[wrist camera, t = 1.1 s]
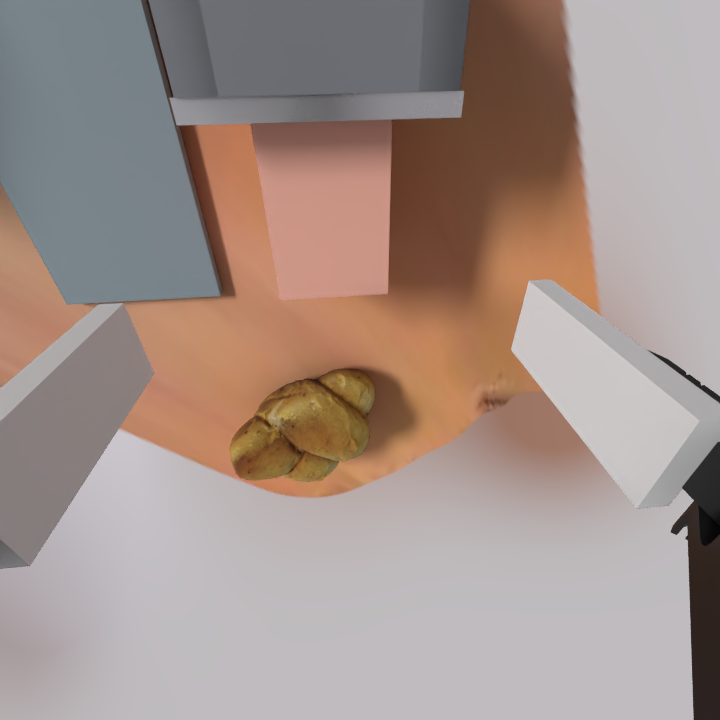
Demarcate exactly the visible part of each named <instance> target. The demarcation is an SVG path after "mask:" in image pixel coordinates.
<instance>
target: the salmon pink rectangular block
mask: <svg viewBox="0 0 720 720" xmlns="http://www.w3.org/2000/svg"><path fill="white" fill-rule="evenodd" d="M251 129H252V135H253V141H254V147H255V153H256V159H257V165H258V171H259V177H260V183H261V189H262V195H263V201H264V207H265V213H266V219H267V225H268V231H269V237H270V243H271V249H272V255H273V261H274V267H275V273H276V279H277V285H278V291H279V297H280V300H290V299H308V298H325V297H343V296H360V295H378V294H388V268H389V227H390V187H391V146H392V119H388V120H353V121H318V122H282V123H251Z"/></svg>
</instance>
